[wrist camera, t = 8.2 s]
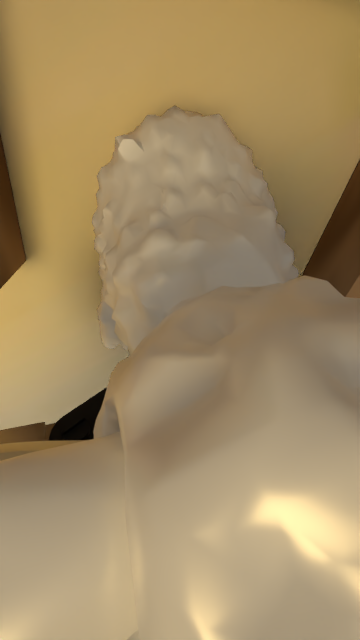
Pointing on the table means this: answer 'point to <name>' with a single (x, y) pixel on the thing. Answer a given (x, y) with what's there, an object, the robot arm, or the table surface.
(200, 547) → the white creature statuette
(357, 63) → the table surface
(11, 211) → the display bay
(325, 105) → the table surface
